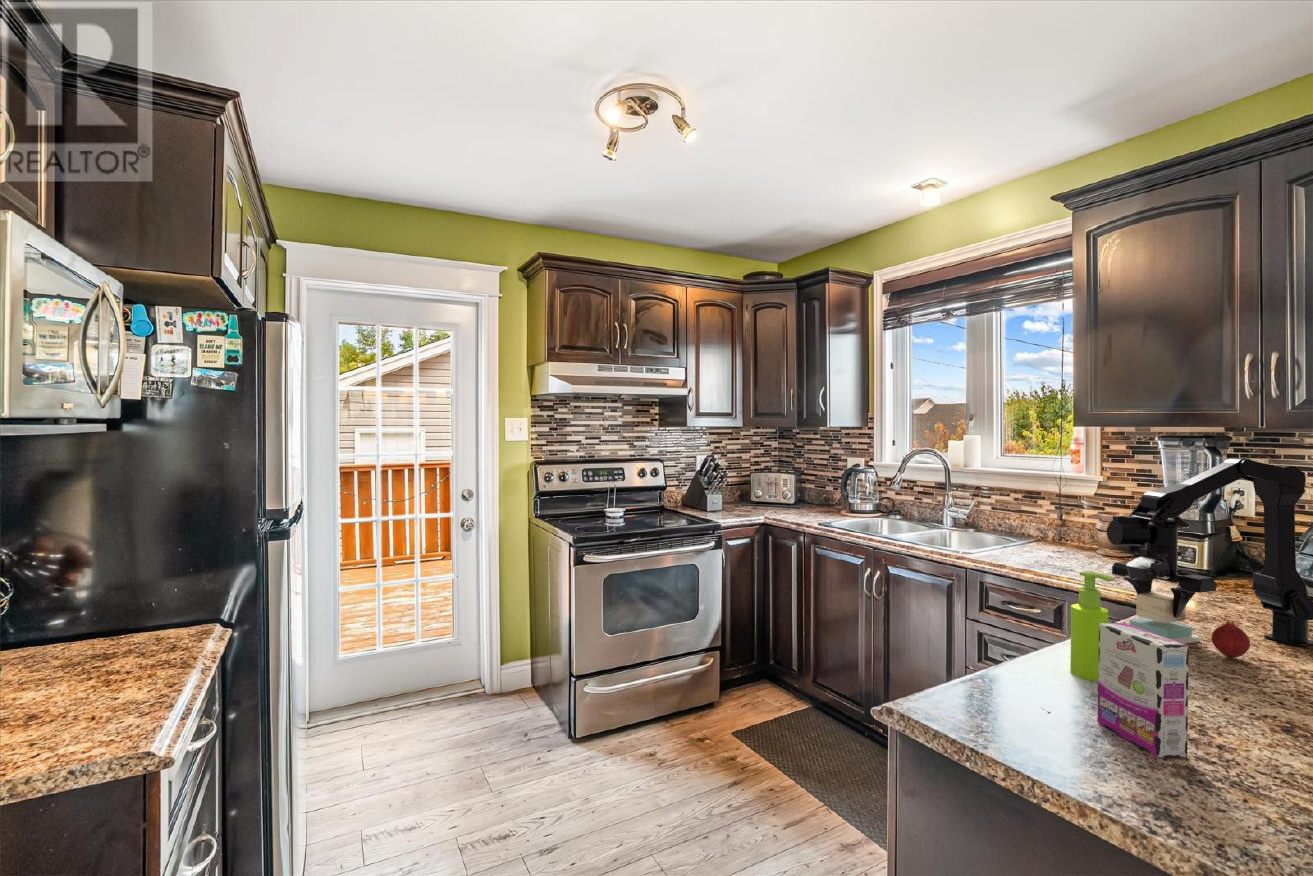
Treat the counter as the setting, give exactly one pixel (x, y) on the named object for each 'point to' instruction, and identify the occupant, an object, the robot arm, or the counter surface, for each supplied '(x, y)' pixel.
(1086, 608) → the soap dispenser
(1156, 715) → the candy bar box
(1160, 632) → the tower base
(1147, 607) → the maple block
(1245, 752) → the counter surface
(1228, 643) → the onion
